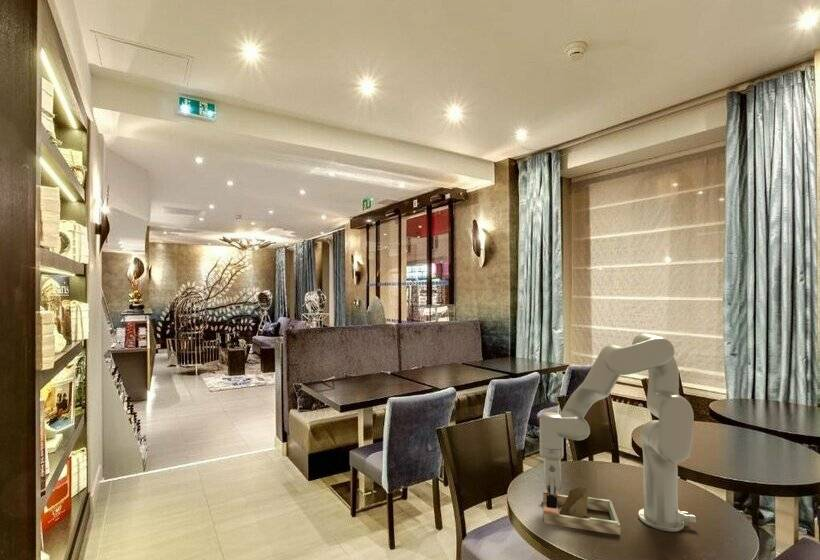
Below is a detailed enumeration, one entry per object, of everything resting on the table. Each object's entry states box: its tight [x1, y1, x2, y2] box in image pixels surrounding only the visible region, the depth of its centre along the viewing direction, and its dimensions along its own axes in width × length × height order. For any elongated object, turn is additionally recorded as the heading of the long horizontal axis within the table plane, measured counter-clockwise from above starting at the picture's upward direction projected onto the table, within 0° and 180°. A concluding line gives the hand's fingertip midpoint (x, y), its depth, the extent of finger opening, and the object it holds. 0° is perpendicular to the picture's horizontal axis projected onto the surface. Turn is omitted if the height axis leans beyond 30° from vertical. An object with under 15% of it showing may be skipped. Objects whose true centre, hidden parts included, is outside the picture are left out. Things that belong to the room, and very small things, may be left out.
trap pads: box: [542, 490, 559, 516], centre depth 141 cm, size 5×15×4 cm, turn 164°
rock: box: [558, 486, 589, 518], centre depth 139 cm, size 11×9×10 cm
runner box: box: [542, 493, 621, 536], centre depth 138 cm, size 22×15×4 cm
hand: (551, 506), depth 140 cm, fingers closed
